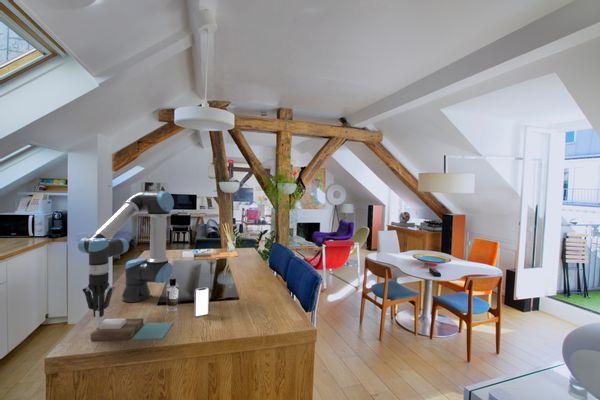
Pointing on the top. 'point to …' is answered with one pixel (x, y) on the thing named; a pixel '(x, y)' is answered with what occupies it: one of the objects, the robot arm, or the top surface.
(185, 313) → the top surface
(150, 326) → the mat
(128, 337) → the brown wooden flat block
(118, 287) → the top surface
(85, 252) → the robot arm
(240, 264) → the top surface
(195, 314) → the mobile phone
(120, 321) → the white slab
